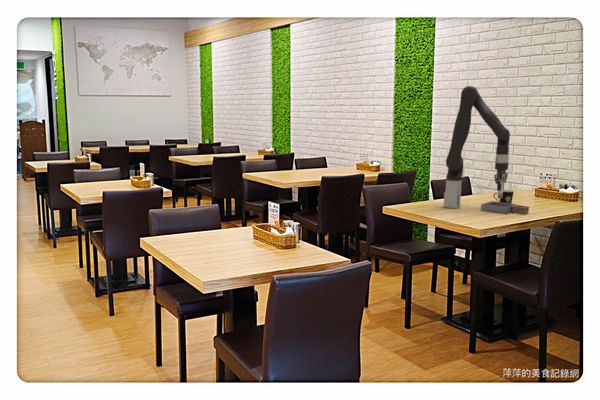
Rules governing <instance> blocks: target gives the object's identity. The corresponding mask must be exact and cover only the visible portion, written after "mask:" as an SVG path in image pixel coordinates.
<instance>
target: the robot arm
mask: <svg viewBox="0 0 600 400" xmlns="http://www.w3.org/2000/svg"><path fill="white" fill-rule="evenodd" d="M473 107H474V108H475V110H476V111H477V112H478V114H479V115H480V117H481V118H482V120H483V121H484V123H485V124H486V125H487V126H488V127H489V128H490V129H491V131H492V132H493V134H494V135H495V136H496V137H497V141H496V142H497V143H496V144H497V145H496V149H495V151H496V152H495V158H494V159H495V161H494V162H495V163H494V169H495V170H496V173H495V174H494V182H495V184H496V185H497V187H496V190H497V192H498V191H501V183H502V182H503V190H505V189H504V188H505V186H504V185H505V184H506V183H507V179H508V176H509V173H507V171H508V170H509V162H510V161H509V160H510V157H509V151H510V147H509V144H510V137H511V132H510V130H509V129H508V128H506V127H505V125H504V124H503V123H502V122H501V120H500V118H498V116H497V115H496V114H495V112H493V111H492V109H491V108H490V107H489V106H488V105H487V104H486V102H485V100H484V99H483V98H482V97H481V95H480V92H479V90H478V88H476V87H475V86H472V85H467V86H465V87H463V89H462V90H461V93H460V101H459V108H458V112H457V114H456V115H457V116H456V118H455V122H454V126H453V131H452V137H451V142H450V147H449V151H448V154H447V157H446V160H445V165H446V167H447V174H446V176H445V177H446V179H445V191H444V193H443V208H447V209H460V208H461V198H462V180H463V178H462V177H463V173H464V158H463V157H462V153H463V148H464V146H465V144H466V141H467V139H468V136H469V133H470V129H471V124H472V123H471V122H472V110H473Z"/></svg>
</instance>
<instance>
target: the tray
mask: <svg viewBox="0 0 600 400" xmlns="http://www.w3.org/2000/svg"><path fill="white" fill-rule="evenodd" d="M516 205H518V203H503V202H499V201H494V200H492V201H488V202H484V203H481V204H480V212H481V211H482V212H489V213H497V214H502V213H503V215H507V214H511V213H512V206H516Z"/></svg>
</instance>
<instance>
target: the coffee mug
mask: <svg viewBox="0 0 600 400" xmlns="http://www.w3.org/2000/svg"><path fill="white" fill-rule="evenodd" d="M496 195H498V192H495V193H494V194H493V198H494V200H496V202H503V203H511V204H513V198H514V197H513V196H514V190H511V189H504V190H503V196H502V199H498V198H497V197H496Z"/></svg>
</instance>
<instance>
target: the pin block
mask: <svg viewBox="0 0 600 400" xmlns="http://www.w3.org/2000/svg"><path fill="white" fill-rule="evenodd" d="M529 211H530V206H529V205H522V204H521V205H520V204H517V205H516V206H512V212H511V213H512V214H515V213H516V214H517V215H523V216H524V215H527V214H529Z"/></svg>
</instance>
